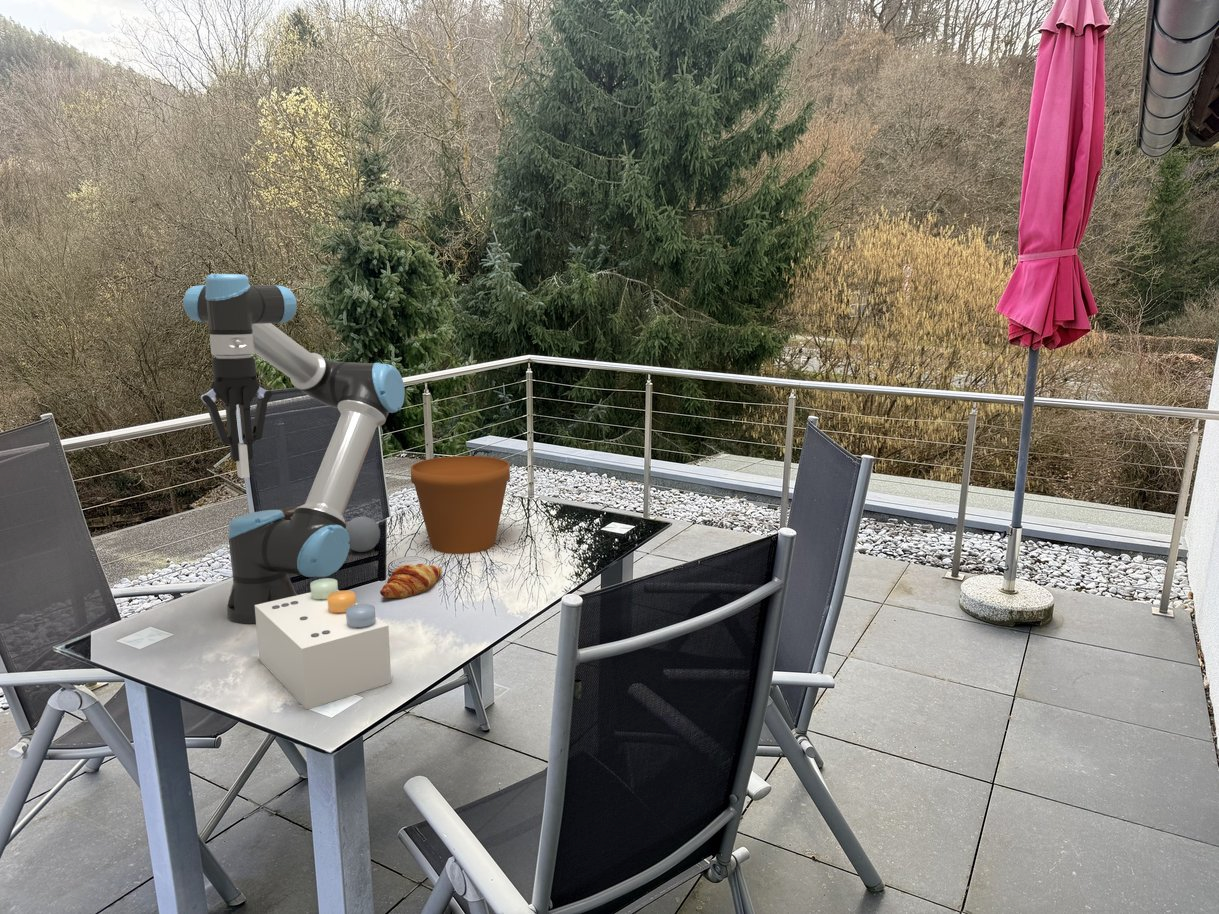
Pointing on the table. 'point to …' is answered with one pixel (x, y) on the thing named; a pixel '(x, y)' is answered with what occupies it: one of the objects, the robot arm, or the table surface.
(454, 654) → the table surface
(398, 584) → the croissant
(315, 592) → the button sage
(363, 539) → the grey ball
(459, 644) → the table surface
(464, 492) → the flowerpot
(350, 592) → the button orange
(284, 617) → the console
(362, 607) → the button slate
